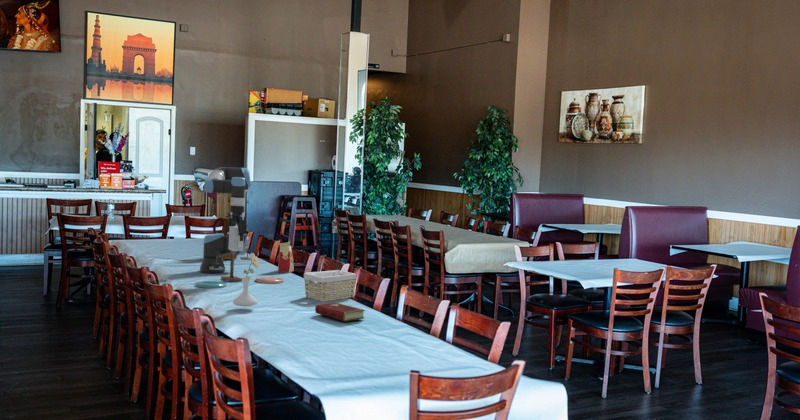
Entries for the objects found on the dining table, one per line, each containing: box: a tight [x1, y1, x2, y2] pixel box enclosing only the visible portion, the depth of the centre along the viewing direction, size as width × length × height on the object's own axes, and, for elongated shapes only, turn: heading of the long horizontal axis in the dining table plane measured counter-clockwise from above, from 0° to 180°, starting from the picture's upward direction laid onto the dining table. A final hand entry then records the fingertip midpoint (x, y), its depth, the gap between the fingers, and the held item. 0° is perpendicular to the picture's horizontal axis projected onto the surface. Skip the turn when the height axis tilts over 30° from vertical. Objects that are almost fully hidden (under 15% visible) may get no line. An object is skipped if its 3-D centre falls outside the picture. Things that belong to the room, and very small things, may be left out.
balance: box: [209, 246, 251, 283], centre depth 411 cm, size 12×27×19 cm, turn 131°
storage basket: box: [303, 269, 357, 302], centre depth 376 cm, size 24×16×15 cm
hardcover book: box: [314, 301, 366, 322], centre depth 330 cm, size 12×21×4 cm, turn 44°
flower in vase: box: [232, 252, 261, 307], centre depth 339 cm, size 13×11×25 cm
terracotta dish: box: [255, 276, 285, 285], centre depth 415 cm, size 16×16×1 cm
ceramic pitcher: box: [212, 216, 238, 261], centre depth 496 cm, size 20×20×30 cm
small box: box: [228, 226, 244, 251], centre depth 396 cm, size 8×6×13 cm
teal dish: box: [195, 280, 227, 289], centre depth 390 cm, size 16×16×1 cm
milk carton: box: [277, 241, 295, 274], centre depth 451 cm, size 9×9×20 cm
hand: (235, 245), depth 396 cm, fingers closed on small box, 9 cm apart
